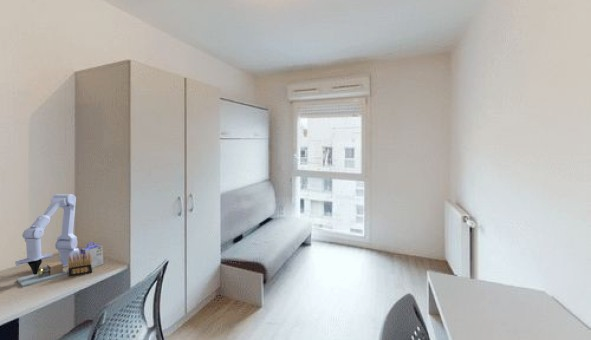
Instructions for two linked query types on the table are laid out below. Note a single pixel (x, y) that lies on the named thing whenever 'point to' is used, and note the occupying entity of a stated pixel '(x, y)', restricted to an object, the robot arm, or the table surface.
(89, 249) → the ink cartridge box
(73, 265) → the ammunition clip
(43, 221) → the robot arm
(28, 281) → the mounting board
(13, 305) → the table surface
